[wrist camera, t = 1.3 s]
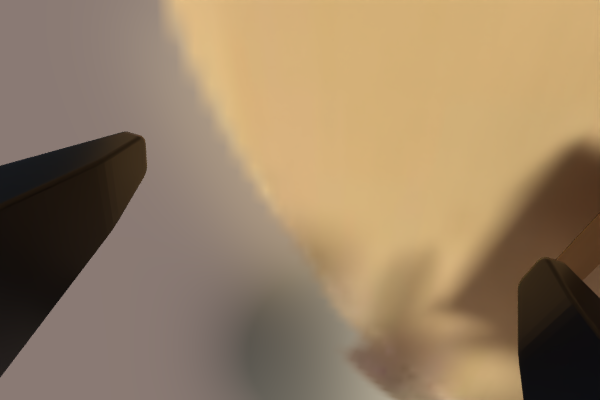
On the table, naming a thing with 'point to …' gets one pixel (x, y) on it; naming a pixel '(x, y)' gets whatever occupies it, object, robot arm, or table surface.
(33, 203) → the robot arm
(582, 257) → the beam
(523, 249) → the table surface
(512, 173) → the table surface
